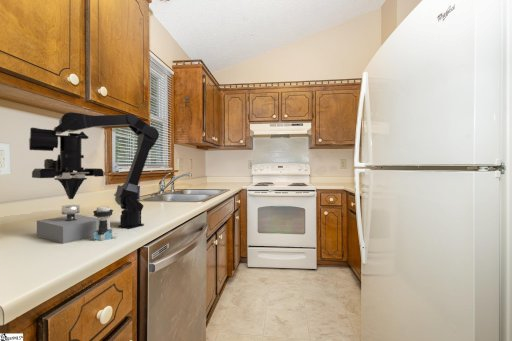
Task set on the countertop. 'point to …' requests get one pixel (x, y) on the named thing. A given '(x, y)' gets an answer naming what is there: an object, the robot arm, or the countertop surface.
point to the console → (67, 228)
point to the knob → (70, 211)
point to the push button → (103, 224)
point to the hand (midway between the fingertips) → (70, 199)
